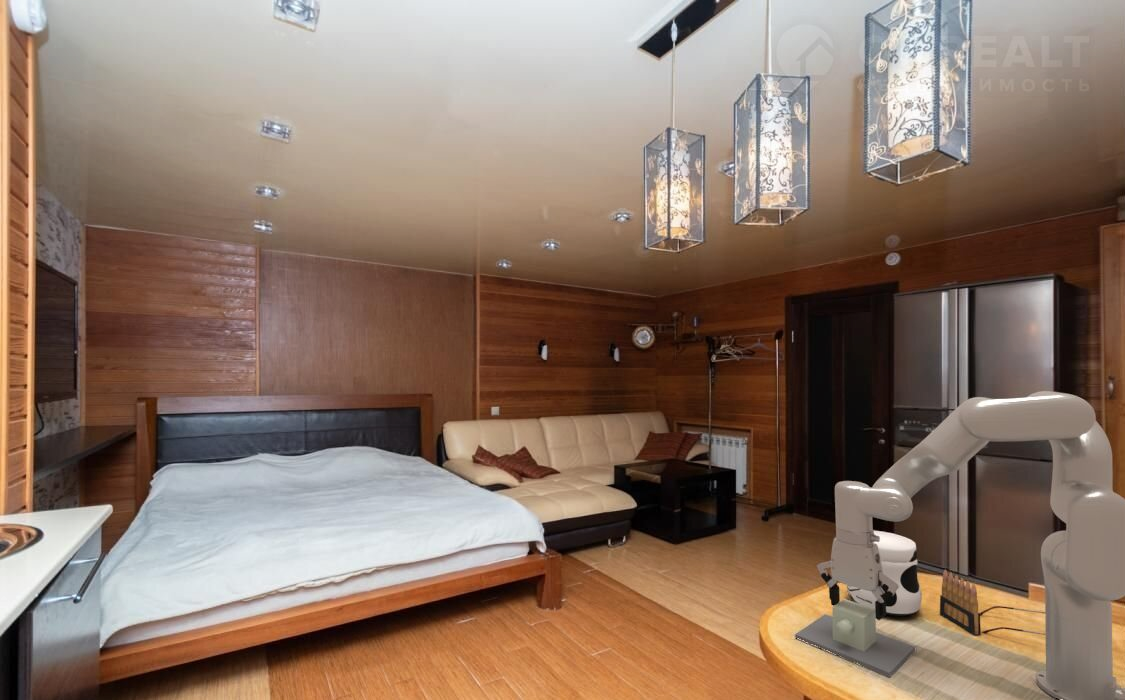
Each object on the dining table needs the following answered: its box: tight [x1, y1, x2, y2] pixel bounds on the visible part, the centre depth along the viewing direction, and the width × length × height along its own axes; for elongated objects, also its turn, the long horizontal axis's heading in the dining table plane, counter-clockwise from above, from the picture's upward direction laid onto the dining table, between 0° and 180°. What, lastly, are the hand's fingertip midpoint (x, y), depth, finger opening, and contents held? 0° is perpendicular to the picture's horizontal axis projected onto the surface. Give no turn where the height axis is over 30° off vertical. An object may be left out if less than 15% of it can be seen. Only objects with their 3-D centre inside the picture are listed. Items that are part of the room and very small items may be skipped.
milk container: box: [846, 530, 923, 617], centre depth 142 cm, size 17×17×18 cm
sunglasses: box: [979, 605, 1046, 636], centre depth 129 cm, size 14×16×5 cm
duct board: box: [794, 613, 916, 678], centre depth 122 cm, size 20×16×6 cm
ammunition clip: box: [939, 569, 982, 636], centre depth 132 cm, size 11×2×12 cm, turn 3°
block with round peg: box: [832, 598, 877, 651], centre depth 121 cm, size 10×7×7 cm
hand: (857, 610), depth 122 cm, fingers open, 9 cm apart
